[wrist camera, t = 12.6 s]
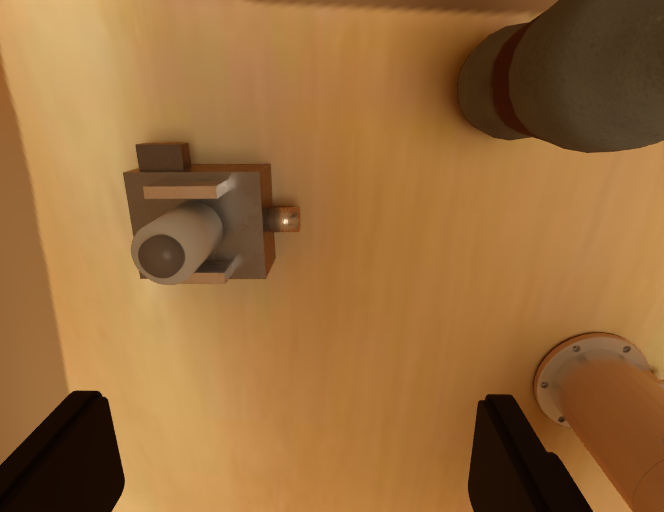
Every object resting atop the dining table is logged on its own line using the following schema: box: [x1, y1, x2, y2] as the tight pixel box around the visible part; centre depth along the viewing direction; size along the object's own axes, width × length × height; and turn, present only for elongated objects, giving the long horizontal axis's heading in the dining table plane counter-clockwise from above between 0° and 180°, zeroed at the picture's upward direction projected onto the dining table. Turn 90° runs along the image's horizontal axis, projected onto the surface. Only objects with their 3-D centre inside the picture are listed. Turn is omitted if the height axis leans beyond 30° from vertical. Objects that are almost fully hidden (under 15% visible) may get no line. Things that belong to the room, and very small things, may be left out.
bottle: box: [457, 0, 664, 153], centre depth 25 cm, size 9×9×30 cm
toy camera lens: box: [131, 202, 223, 285], centre depth 35 cm, size 5×5×8 cm
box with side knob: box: [123, 143, 300, 284], centre depth 39 cm, size 15×12×9 cm
